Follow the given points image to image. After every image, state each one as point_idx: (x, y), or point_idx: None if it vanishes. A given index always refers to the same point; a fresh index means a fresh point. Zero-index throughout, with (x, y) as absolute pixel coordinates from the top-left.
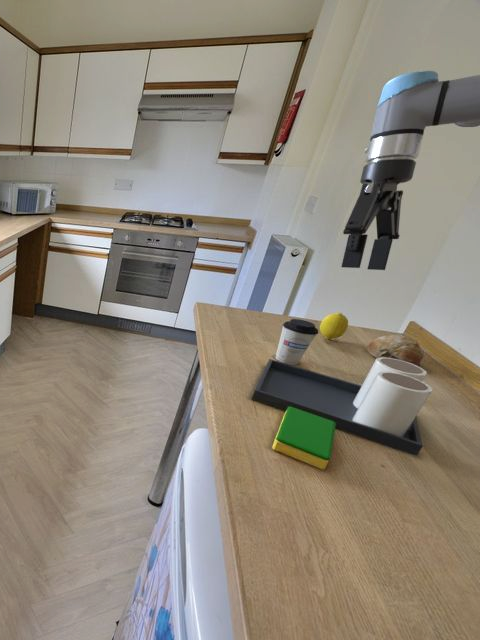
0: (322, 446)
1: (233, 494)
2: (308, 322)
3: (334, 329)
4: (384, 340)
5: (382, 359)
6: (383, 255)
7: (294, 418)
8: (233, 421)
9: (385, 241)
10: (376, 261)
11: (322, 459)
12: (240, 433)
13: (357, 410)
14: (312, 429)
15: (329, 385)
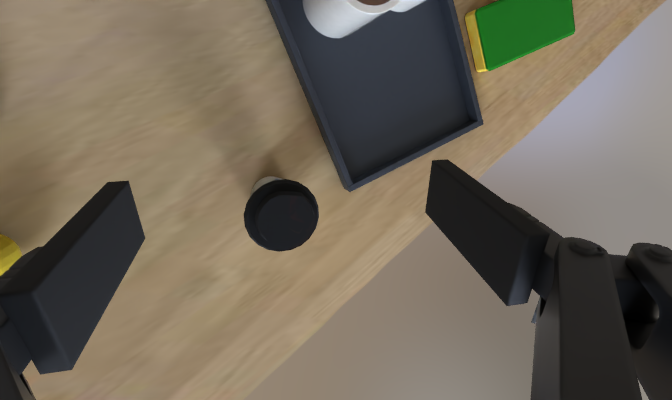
0: None
1: (647, 14)
2: (265, 218)
3: (7, 247)
4: None
5: (375, 2)
6: (100, 235)
7: (517, 46)
8: (541, 96)
9: (55, 305)
10: (122, 236)
11: None
12: (557, 75)
13: (419, 4)
14: (523, 18)
15: (316, 91)
